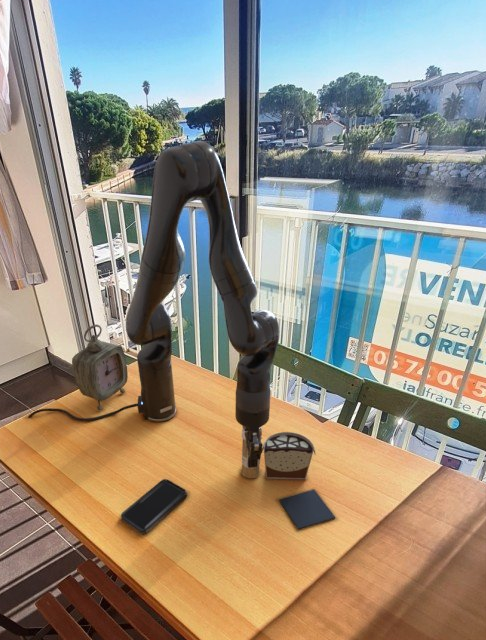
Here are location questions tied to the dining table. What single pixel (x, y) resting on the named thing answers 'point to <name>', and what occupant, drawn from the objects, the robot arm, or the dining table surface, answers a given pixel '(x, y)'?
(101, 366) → the tabletop clock
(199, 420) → the dining table surface
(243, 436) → the sprinkles bottle
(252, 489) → the dining table surface
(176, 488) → the phone
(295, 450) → the food container
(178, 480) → the dining table surface
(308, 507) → the slate coaster
